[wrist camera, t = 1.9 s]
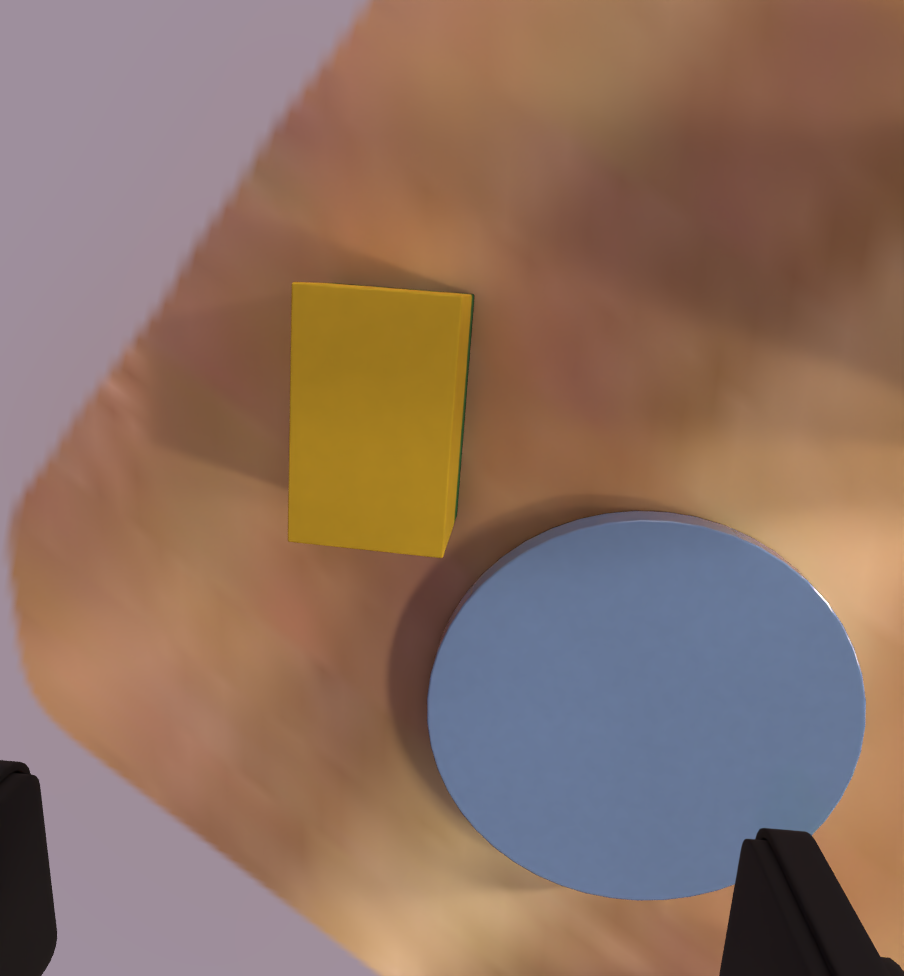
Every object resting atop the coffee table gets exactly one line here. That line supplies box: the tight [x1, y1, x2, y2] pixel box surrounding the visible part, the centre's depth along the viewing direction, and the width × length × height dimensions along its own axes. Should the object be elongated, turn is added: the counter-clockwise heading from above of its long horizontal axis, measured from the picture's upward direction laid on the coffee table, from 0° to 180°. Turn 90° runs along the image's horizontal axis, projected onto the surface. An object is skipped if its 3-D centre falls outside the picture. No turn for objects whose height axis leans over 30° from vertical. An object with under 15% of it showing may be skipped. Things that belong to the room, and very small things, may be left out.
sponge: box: [288, 282, 474, 558], centre depth 24 cm, size 8×5×4 cm, turn 176°
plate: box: [427, 511, 866, 900], centre depth 28 cm, size 16×16×1 cm
